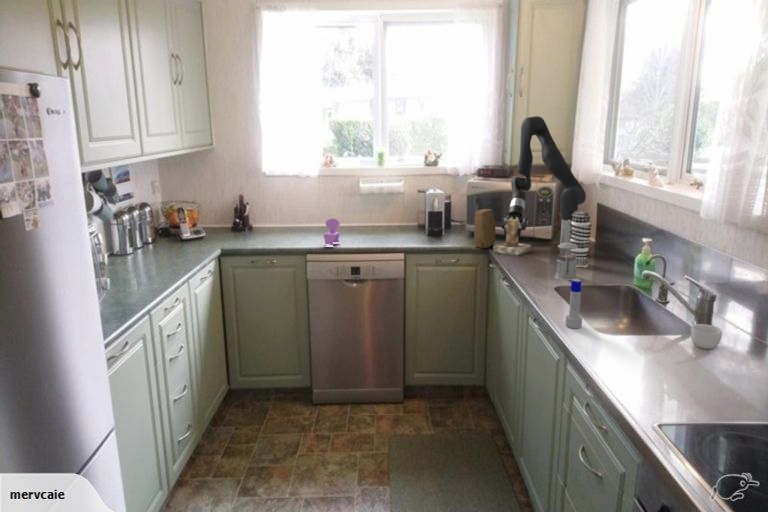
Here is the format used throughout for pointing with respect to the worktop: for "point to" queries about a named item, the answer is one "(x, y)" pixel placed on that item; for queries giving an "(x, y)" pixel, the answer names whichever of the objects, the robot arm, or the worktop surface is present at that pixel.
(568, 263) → the french press
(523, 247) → the birch board
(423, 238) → the worktop surface
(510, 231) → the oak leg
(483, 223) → the block
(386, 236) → the worktop surface
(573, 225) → the decorative candle
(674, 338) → the worktop surface
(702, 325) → the teacup
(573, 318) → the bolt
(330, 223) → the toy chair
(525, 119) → the robot arm
